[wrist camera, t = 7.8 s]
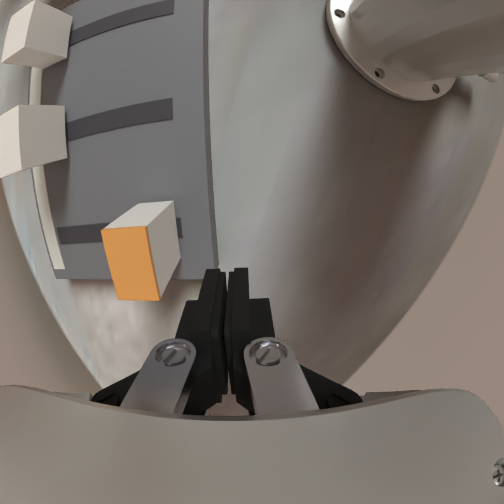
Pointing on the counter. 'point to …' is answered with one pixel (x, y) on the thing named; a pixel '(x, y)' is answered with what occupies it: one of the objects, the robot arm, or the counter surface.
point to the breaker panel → (128, 131)
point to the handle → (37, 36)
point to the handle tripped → (142, 250)
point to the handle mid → (31, 137)
